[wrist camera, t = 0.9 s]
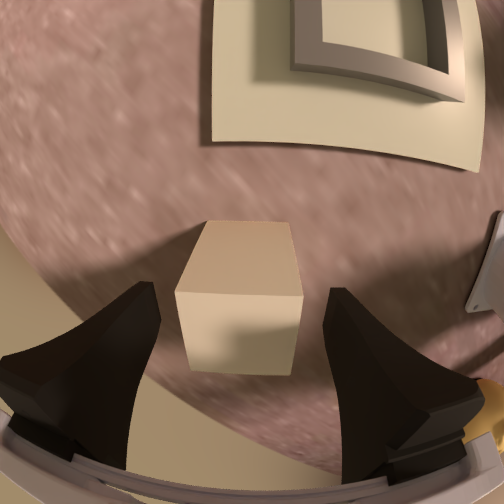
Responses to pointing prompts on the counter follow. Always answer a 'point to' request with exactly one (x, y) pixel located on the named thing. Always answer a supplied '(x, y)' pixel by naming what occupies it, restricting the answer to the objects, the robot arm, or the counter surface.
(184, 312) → the block
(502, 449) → the sculpture
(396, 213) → the counter surface
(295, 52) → the charging dock
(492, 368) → the counter surface
